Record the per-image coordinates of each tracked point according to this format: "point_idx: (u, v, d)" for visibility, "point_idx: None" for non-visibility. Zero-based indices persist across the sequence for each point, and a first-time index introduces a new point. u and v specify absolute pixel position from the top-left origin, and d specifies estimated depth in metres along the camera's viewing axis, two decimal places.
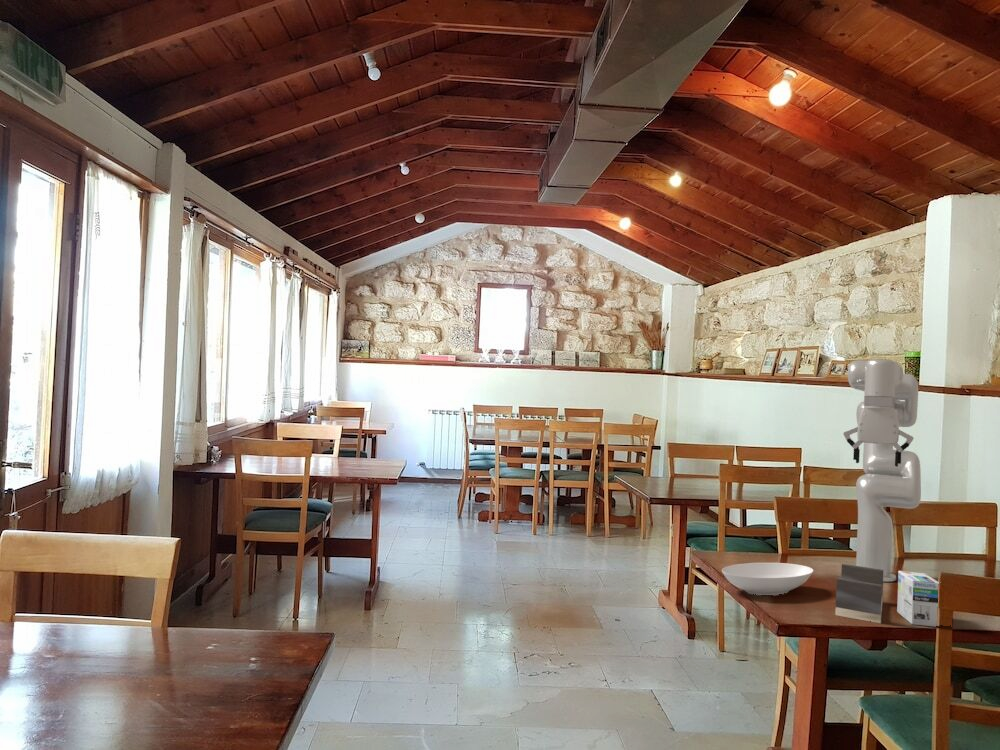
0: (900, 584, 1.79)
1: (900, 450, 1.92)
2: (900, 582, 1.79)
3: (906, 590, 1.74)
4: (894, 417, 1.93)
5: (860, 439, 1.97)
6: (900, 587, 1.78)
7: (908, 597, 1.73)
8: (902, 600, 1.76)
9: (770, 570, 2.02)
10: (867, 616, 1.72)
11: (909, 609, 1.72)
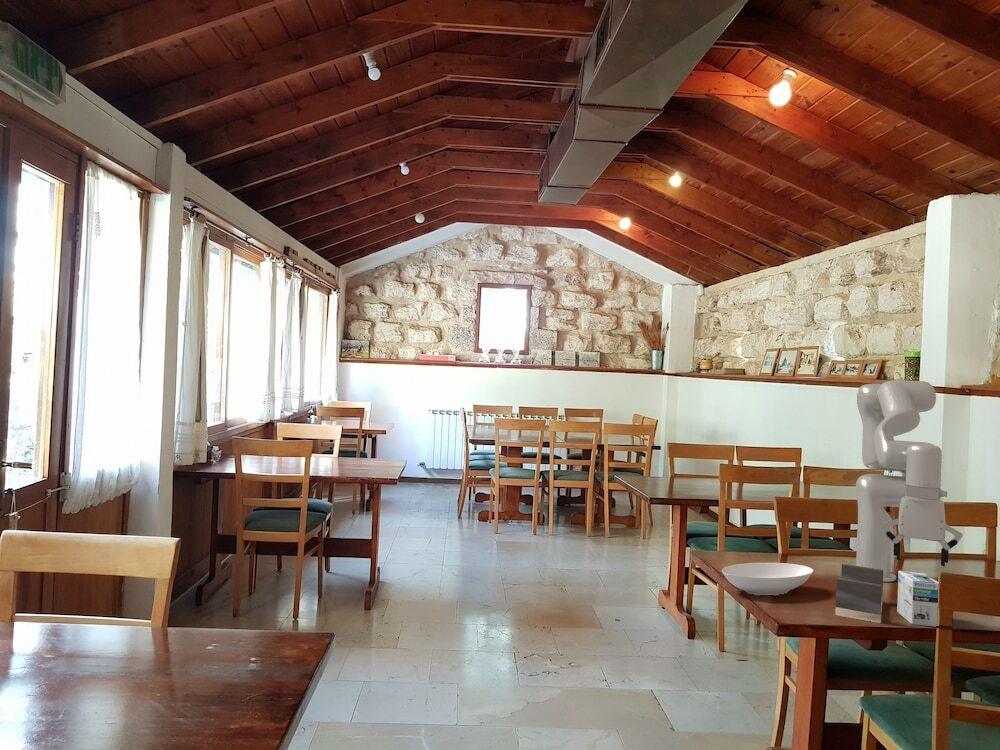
0: (900, 584, 1.79)
1: (947, 548, 1.71)
2: (900, 582, 1.79)
3: (906, 590, 1.74)
4: (941, 511, 1.72)
5: (901, 533, 1.76)
6: (900, 587, 1.78)
7: (908, 597, 1.73)
8: (902, 600, 1.76)
9: (770, 570, 2.02)
10: (867, 616, 1.72)
11: (909, 609, 1.72)
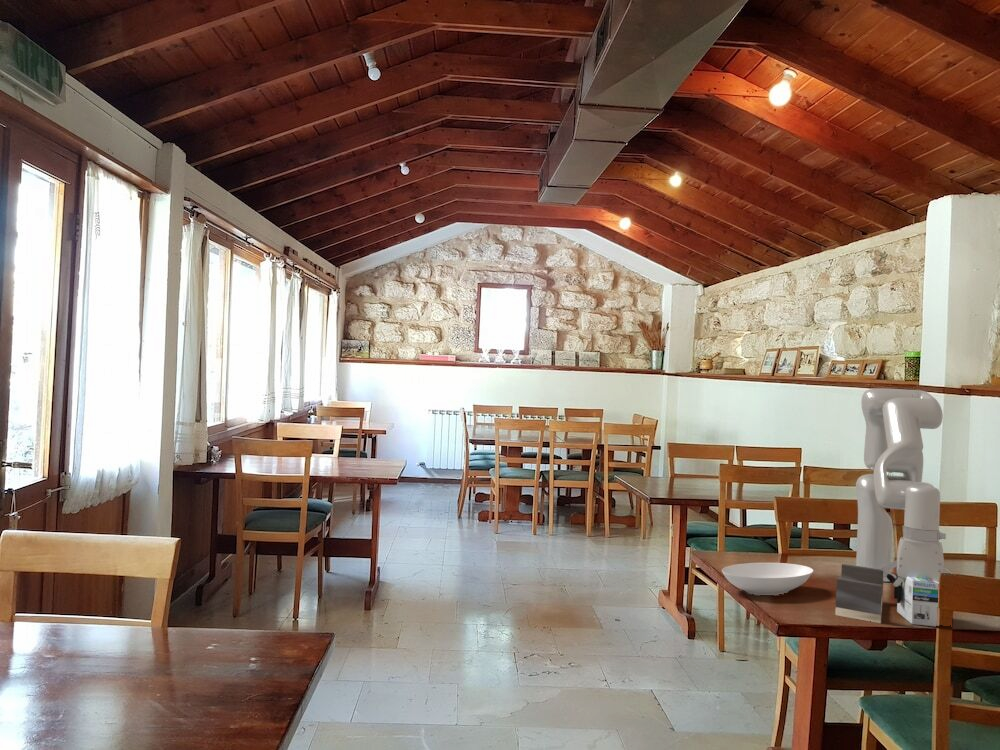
0: (900, 584, 1.79)
1: None
2: None
3: (906, 590, 1.74)
4: (939, 553, 1.72)
5: (900, 575, 1.75)
6: None
7: (908, 597, 1.73)
8: (902, 600, 1.76)
9: (770, 570, 2.02)
10: (867, 616, 1.72)
11: (909, 608, 1.72)
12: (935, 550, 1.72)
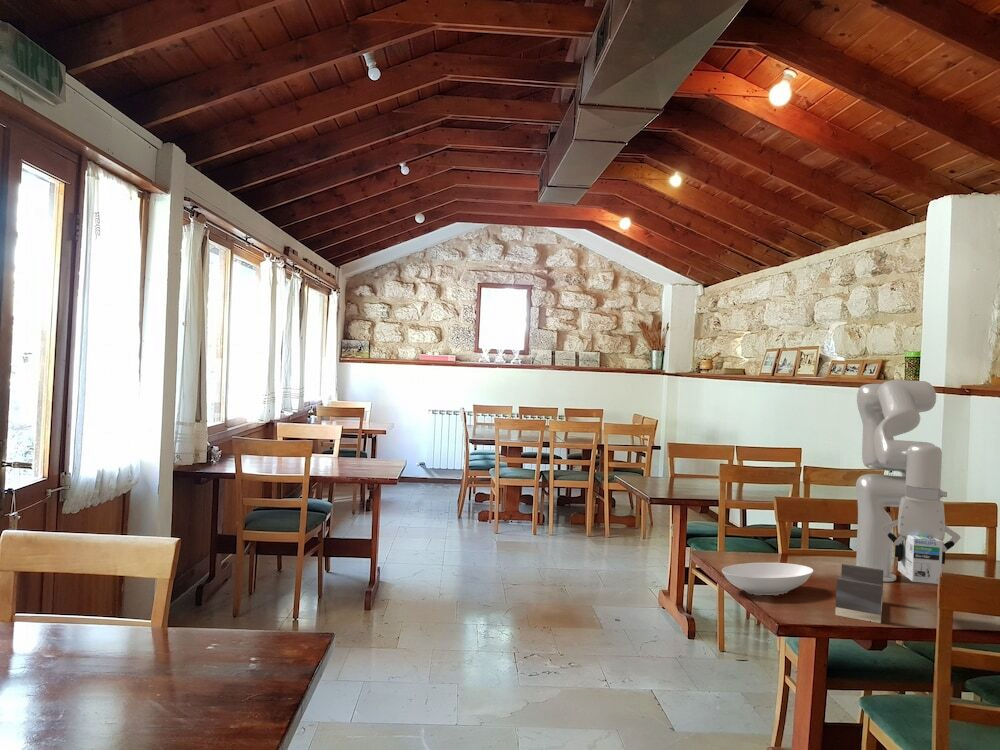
0: (901, 543, 1.79)
1: (944, 550, 1.72)
2: None
3: (907, 548, 1.75)
4: (940, 512, 1.72)
5: (901, 534, 1.76)
6: None
7: (909, 555, 1.74)
8: (903, 558, 1.77)
9: (770, 570, 2.02)
10: (867, 616, 1.72)
11: (910, 566, 1.73)
12: (936, 508, 1.72)
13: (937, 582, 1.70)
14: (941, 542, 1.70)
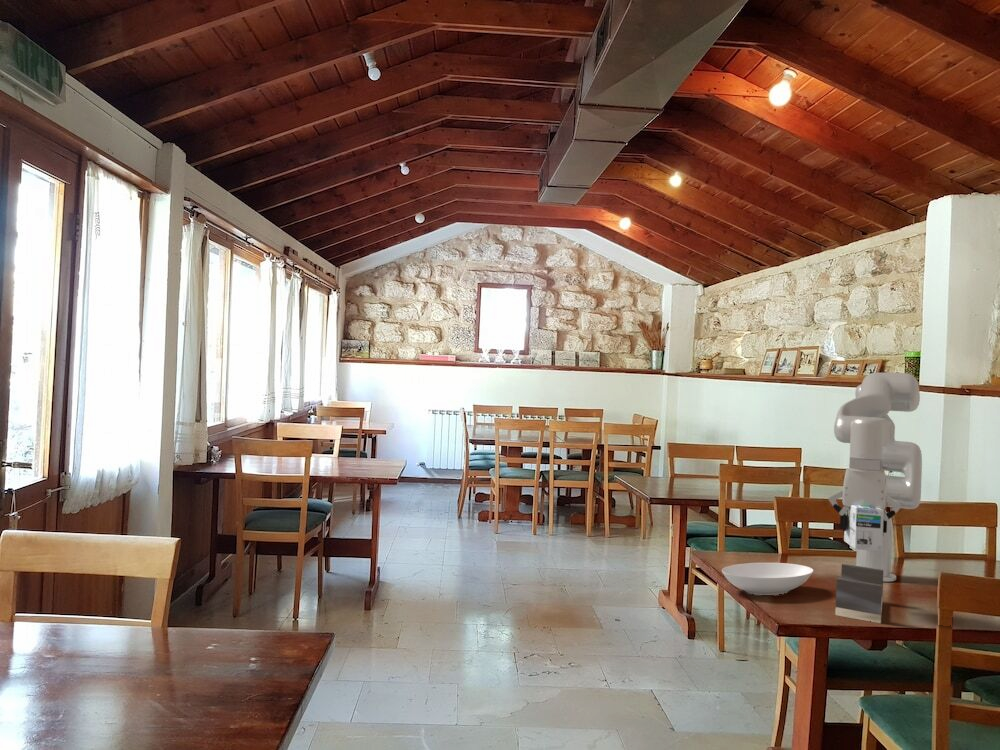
0: (846, 513, 1.85)
1: (886, 519, 1.78)
2: (846, 512, 1.85)
3: (851, 518, 1.81)
4: (881, 482, 1.78)
5: (845, 504, 1.82)
6: None
7: (852, 524, 1.80)
8: (848, 528, 1.83)
9: (770, 570, 2.02)
10: (867, 616, 1.72)
11: (853, 535, 1.79)
12: (878, 478, 1.79)
13: (879, 549, 1.76)
14: (882, 511, 1.76)
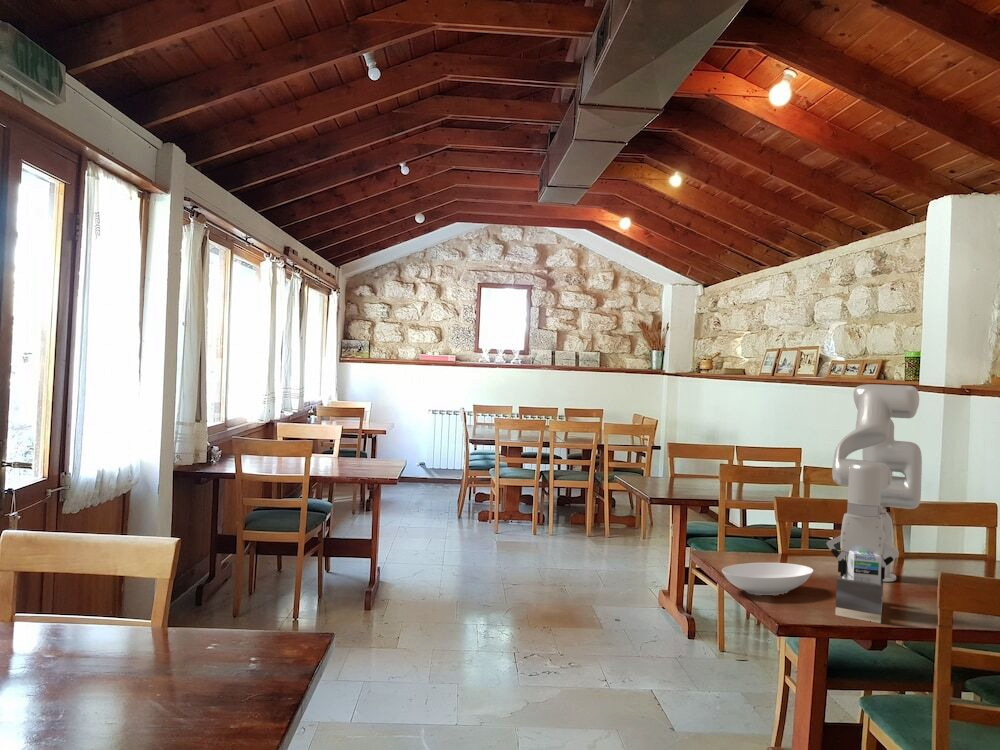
0: (844, 558, 1.85)
1: (883, 565, 1.78)
2: None
3: (849, 563, 1.81)
4: (879, 528, 1.78)
5: (843, 549, 1.82)
6: None
7: (850, 570, 1.80)
8: (846, 573, 1.83)
9: (770, 570, 2.02)
10: (867, 616, 1.72)
11: None
12: (876, 525, 1.78)
13: None
14: (880, 557, 1.76)
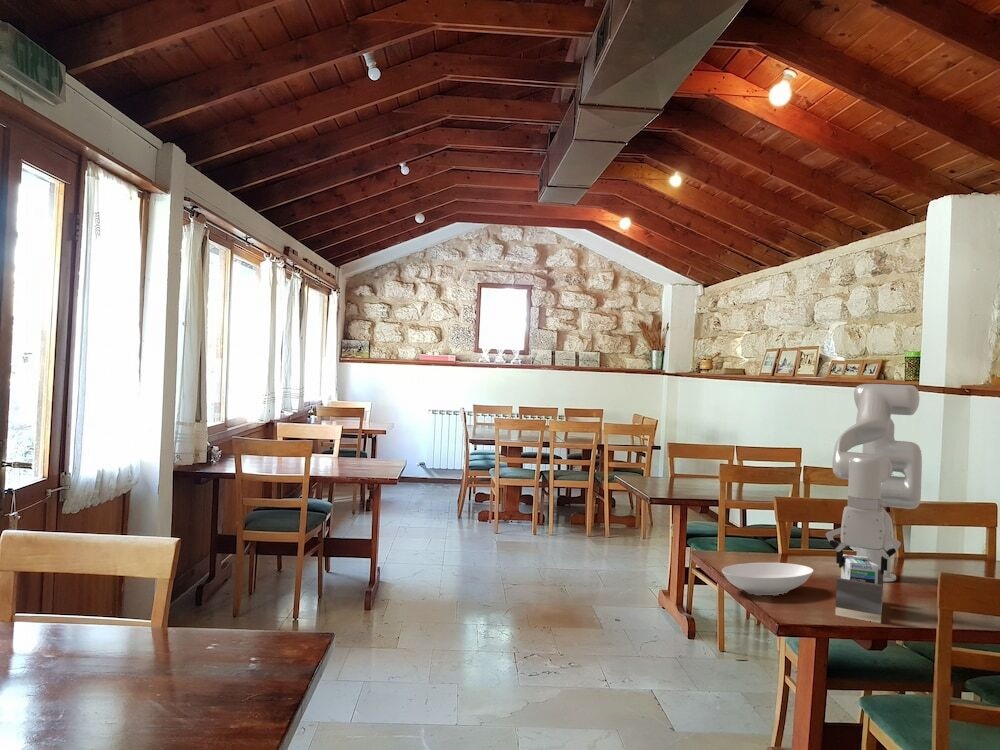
0: (842, 567, 1.85)
1: (886, 557, 1.78)
2: None
3: (846, 572, 1.81)
4: (880, 521, 1.78)
5: (843, 542, 1.82)
6: (842, 570, 1.85)
7: (847, 578, 1.80)
8: None
9: (770, 570, 2.02)
10: (867, 616, 1.72)
11: None
12: (876, 518, 1.79)
13: None
14: (876, 566, 1.76)
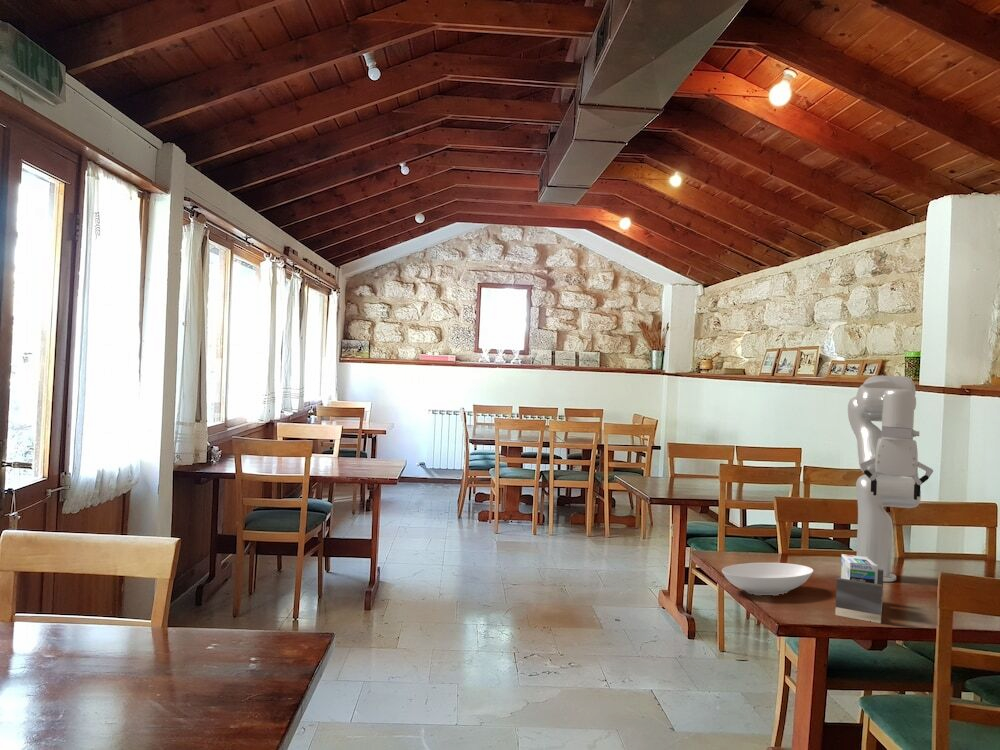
0: (842, 567, 1.86)
1: (919, 483, 1.87)
2: (842, 565, 1.86)
3: (846, 572, 1.81)
4: (913, 449, 1.87)
5: (878, 471, 1.91)
6: (842, 570, 1.85)
7: (847, 578, 1.80)
8: None
9: (770, 570, 2.02)
10: (867, 616, 1.72)
11: None
12: (910, 446, 1.87)
13: None
14: (876, 566, 1.76)
